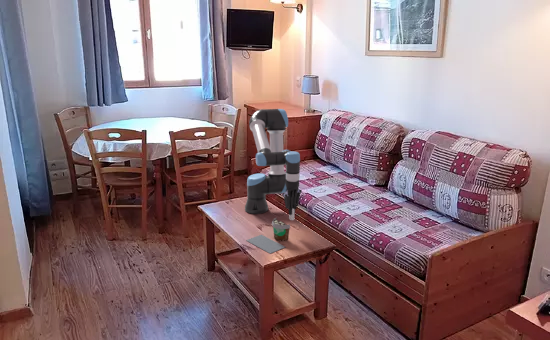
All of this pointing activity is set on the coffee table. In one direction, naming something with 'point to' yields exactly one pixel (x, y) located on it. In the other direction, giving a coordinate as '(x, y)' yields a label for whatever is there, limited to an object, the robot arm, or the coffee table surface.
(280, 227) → the food container
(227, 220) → the coffee table surface
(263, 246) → the mat
